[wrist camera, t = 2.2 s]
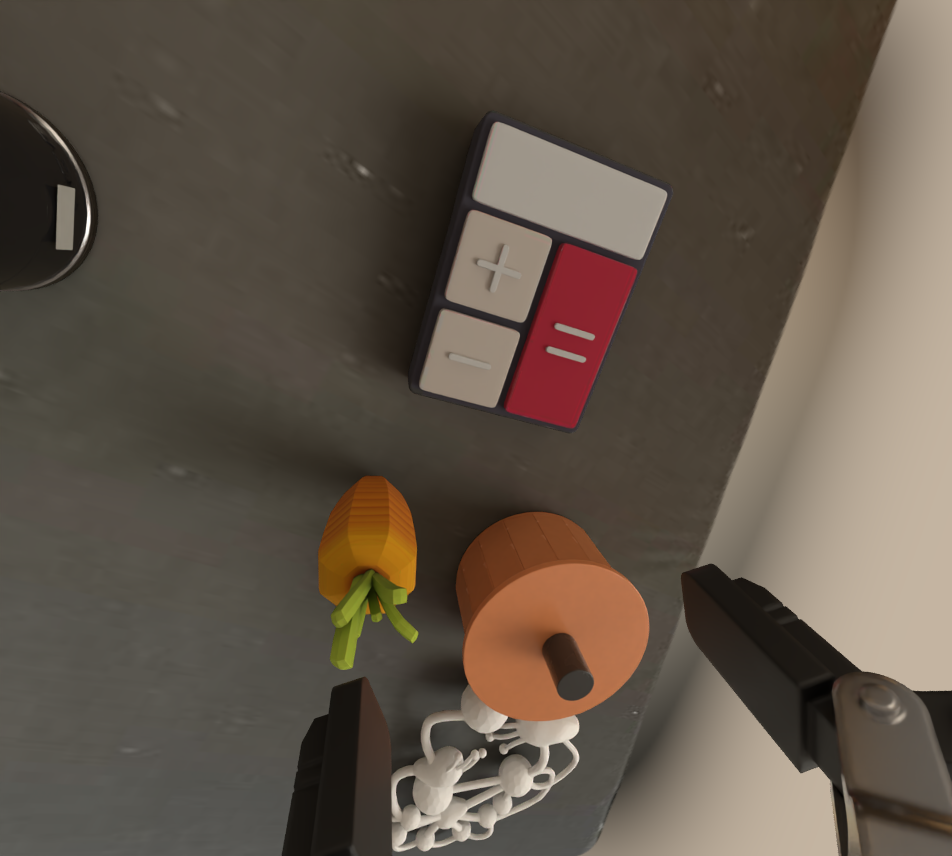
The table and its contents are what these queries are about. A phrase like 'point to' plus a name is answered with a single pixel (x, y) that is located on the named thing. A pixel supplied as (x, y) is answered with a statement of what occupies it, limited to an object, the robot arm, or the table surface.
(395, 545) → the carrot
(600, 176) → the calculator
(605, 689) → the pot lid
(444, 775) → the tangled rod sculpture
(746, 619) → the robot arm
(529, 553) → the pot
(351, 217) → the table surface
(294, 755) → the table surface
